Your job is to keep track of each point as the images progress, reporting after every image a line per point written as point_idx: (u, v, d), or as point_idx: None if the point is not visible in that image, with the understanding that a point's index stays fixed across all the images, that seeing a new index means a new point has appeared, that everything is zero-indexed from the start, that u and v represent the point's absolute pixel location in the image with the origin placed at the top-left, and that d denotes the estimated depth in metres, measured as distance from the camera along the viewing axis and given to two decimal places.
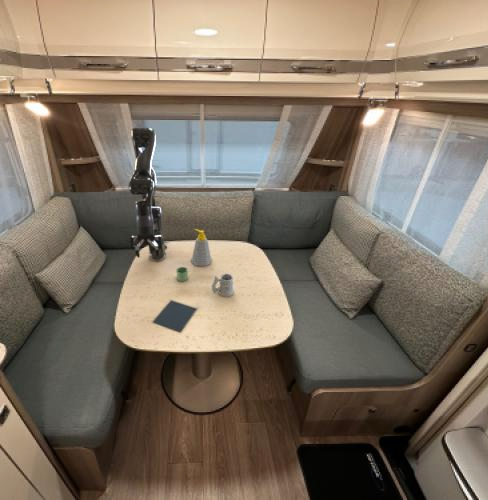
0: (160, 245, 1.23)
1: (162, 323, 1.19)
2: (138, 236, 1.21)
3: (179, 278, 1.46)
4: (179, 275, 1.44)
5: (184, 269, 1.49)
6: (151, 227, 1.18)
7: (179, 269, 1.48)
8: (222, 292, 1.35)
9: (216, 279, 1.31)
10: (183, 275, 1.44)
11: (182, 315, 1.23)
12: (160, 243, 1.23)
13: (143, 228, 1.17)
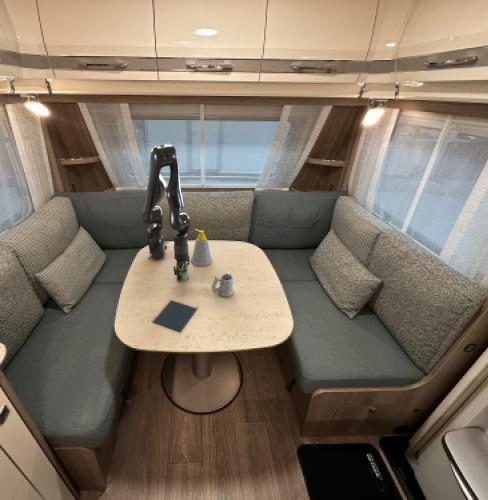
0: (188, 263, 1.49)
1: (162, 323, 1.19)
2: (180, 263, 1.40)
3: None
4: None
5: (184, 269, 1.49)
6: None
7: None
8: (222, 292, 1.35)
9: (216, 279, 1.31)
10: (183, 275, 1.44)
11: (182, 315, 1.23)
12: (188, 261, 1.49)
13: (187, 254, 1.39)
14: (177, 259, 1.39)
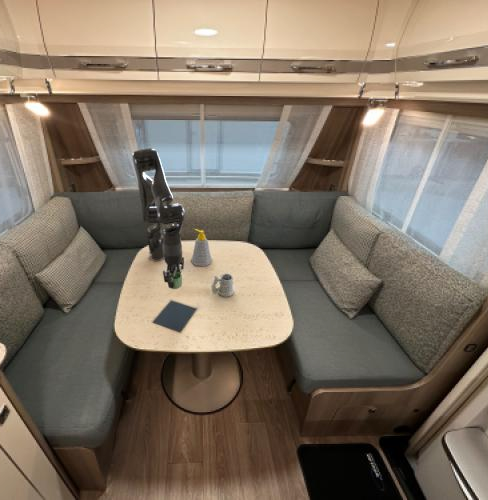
0: (183, 266, 1.20)
1: (162, 323, 1.19)
2: (171, 267, 1.11)
3: None
4: None
5: (177, 274, 1.20)
6: None
7: None
8: (222, 292, 1.35)
9: (216, 279, 1.31)
10: (176, 282, 1.15)
11: (182, 315, 1.23)
12: (183, 264, 1.20)
13: (180, 255, 1.10)
14: (168, 262, 1.10)
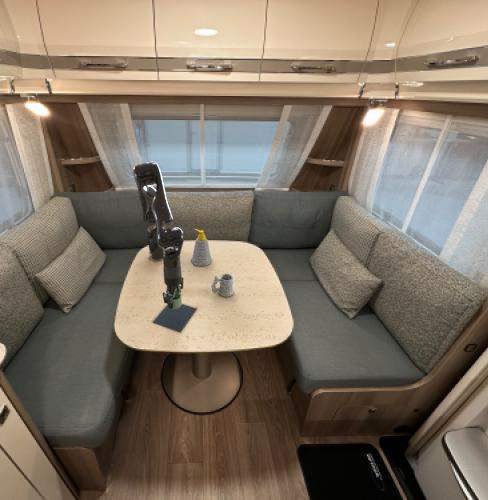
0: (182, 286, 1.21)
1: (162, 323, 1.19)
2: (171, 288, 1.11)
3: None
4: None
5: (177, 294, 1.20)
6: None
7: (171, 294, 1.20)
8: (222, 292, 1.35)
9: (216, 279, 1.31)
10: (175, 302, 1.16)
11: (182, 315, 1.23)
12: (182, 284, 1.21)
13: (180, 277, 1.11)
14: (167, 284, 1.11)
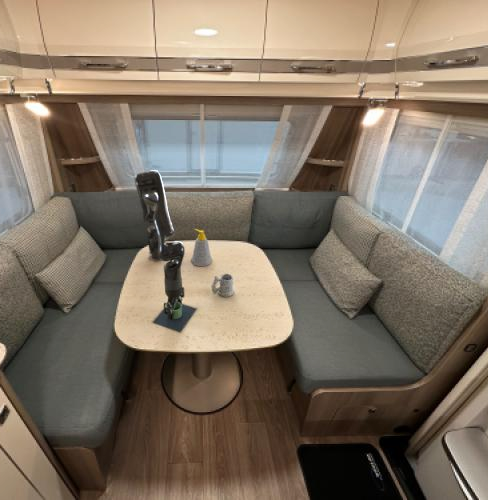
0: (183, 295, 1.24)
1: (162, 323, 1.19)
2: (172, 299, 1.15)
3: None
4: None
5: (177, 304, 1.23)
6: None
7: (171, 304, 1.23)
8: (222, 292, 1.35)
9: (216, 279, 1.31)
10: (176, 313, 1.19)
11: (182, 315, 1.23)
12: (183, 293, 1.24)
13: (180, 288, 1.14)
14: (168, 295, 1.14)
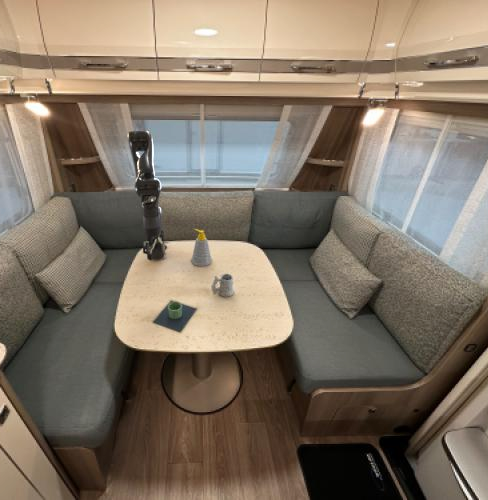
0: (163, 238, 1.27)
1: (162, 323, 1.19)
2: (151, 238, 1.17)
3: (171, 316, 1.20)
4: (171, 313, 1.19)
5: (177, 304, 1.23)
6: None
7: (171, 304, 1.23)
8: (222, 292, 1.35)
9: (216, 279, 1.31)
10: (176, 313, 1.19)
11: (182, 315, 1.23)
12: (163, 236, 1.26)
13: (159, 228, 1.16)
14: (147, 234, 1.16)
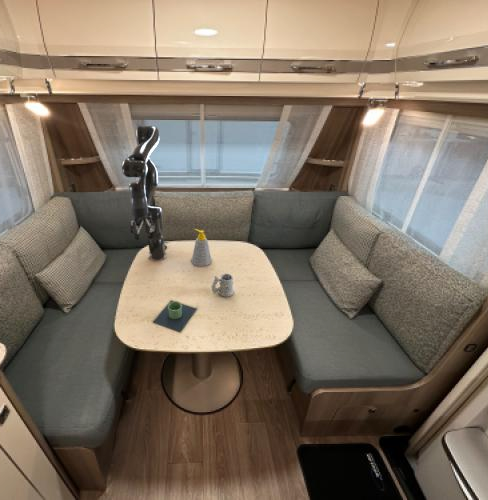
0: (151, 220, 1.33)
1: (162, 323, 1.19)
2: (138, 219, 1.23)
3: (171, 316, 1.20)
4: (171, 313, 1.19)
5: (177, 304, 1.23)
6: None
7: (171, 304, 1.23)
8: (222, 292, 1.35)
9: (216, 279, 1.31)
10: (176, 313, 1.19)
11: (182, 315, 1.23)
12: (151, 219, 1.33)
13: (145, 208, 1.22)
14: (134, 214, 1.22)
